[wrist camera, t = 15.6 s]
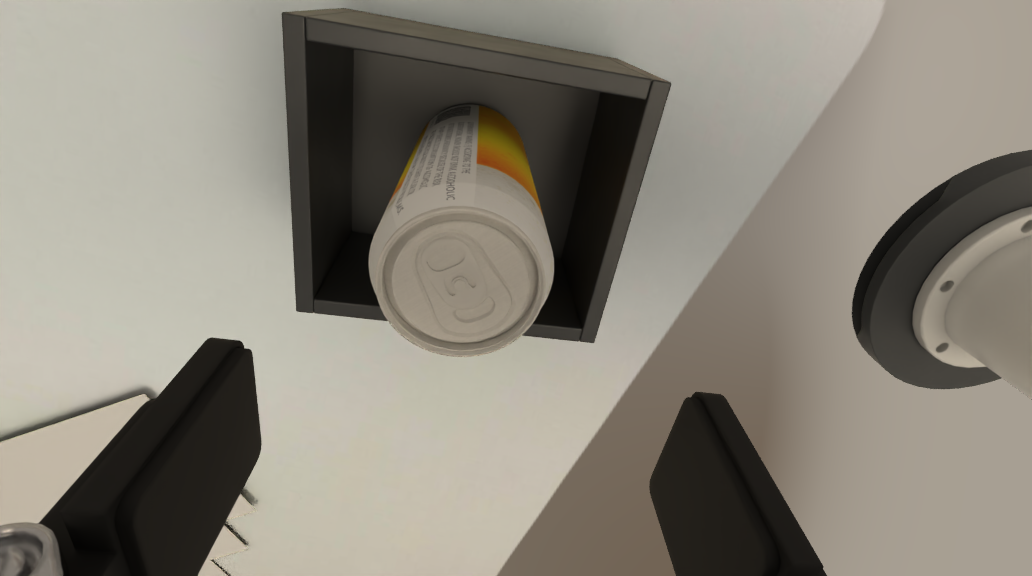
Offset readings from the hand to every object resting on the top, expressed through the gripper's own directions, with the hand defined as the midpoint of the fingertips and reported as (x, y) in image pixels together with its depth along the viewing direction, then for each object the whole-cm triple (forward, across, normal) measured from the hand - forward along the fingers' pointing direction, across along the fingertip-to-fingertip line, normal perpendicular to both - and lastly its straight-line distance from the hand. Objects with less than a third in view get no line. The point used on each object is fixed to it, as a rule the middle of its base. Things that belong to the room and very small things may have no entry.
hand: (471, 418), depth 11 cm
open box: (+22, +1, 0) cm, 22 cm away
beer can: (+21, +1, 0) cm, 21 cm away
